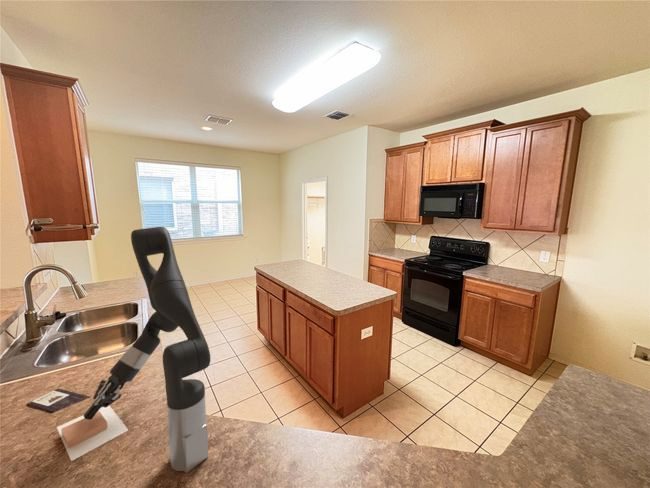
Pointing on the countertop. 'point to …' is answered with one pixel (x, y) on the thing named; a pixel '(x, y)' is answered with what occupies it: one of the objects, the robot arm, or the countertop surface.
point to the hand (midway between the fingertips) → (86, 418)
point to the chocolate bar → (57, 400)
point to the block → (83, 429)
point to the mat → (112, 431)
